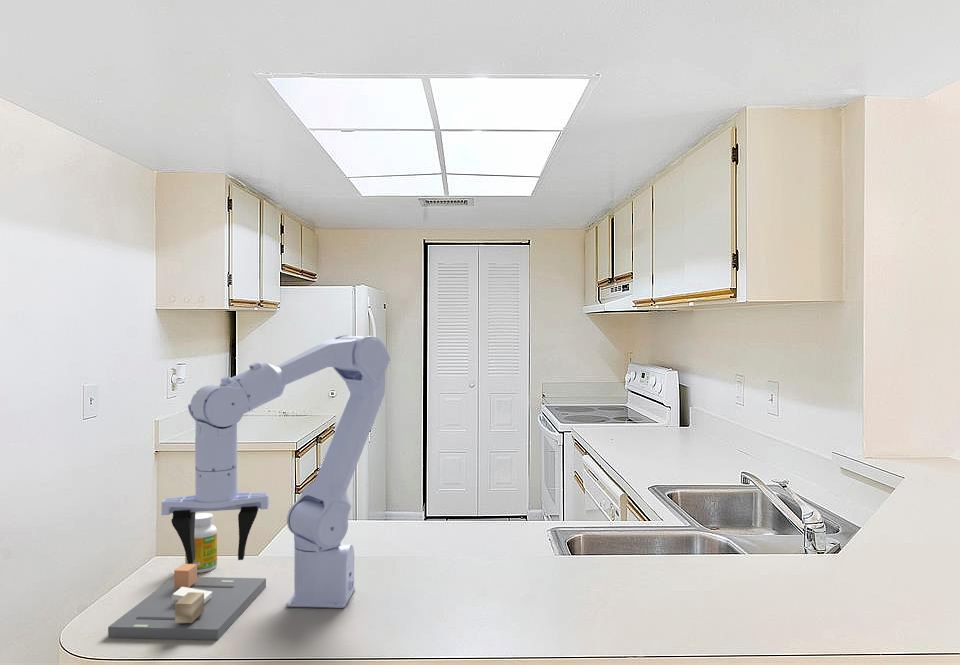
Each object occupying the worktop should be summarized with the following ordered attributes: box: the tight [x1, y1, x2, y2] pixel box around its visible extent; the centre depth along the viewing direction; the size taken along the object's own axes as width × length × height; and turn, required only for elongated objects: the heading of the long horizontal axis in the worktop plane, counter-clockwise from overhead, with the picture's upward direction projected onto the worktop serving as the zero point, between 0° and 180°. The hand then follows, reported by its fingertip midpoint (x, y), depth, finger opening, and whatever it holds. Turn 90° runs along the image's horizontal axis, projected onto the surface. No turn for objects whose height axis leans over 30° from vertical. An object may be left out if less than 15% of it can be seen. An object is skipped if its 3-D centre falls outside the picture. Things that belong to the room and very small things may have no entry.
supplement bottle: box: [184, 512, 218, 574], centre depth 122 cm, size 5×5×10 cm
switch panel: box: [107, 576, 267, 641], centre depth 105 cm, size 16×19×2 cm
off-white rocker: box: [172, 587, 212, 603], centre depth 104 cm, size 5×3×1 cm, turn 88°
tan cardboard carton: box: [175, 592, 204, 623], centre depth 98 cm, size 2×4×3 cm, turn 178°
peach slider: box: [173, 563, 198, 588], centre depth 110 cm, size 2×3×3 cm
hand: (216, 559), depth 98 cm, fingers open, 6 cm apart
